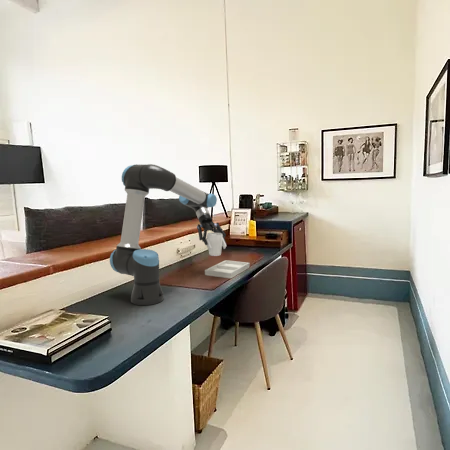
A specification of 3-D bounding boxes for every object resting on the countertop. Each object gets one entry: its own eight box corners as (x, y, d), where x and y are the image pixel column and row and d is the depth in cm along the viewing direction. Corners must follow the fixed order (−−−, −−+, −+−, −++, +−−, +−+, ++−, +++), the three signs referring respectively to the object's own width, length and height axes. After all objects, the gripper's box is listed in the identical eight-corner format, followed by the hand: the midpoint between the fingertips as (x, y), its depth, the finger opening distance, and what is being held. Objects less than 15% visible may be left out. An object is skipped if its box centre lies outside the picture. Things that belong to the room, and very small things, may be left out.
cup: (221, 256, 197) (220, 235, 195) (205, 256, 199) (205, 235, 197) (224, 253, 206) (224, 232, 204) (209, 252, 208) (209, 232, 206)
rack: (230, 278, 203) (230, 273, 203) (204, 275, 210) (204, 270, 210) (249, 267, 228) (249, 262, 227) (225, 264, 235) (225, 260, 235)
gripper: (218, 219, 218) (231, 249, 207) (185, 222, 208) (198, 254, 196) (222, 212, 213) (236, 242, 202) (189, 214, 202) (202, 246, 191)
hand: (217, 248), depth 199 cm, fingers closed on cup, 9 cm apart
